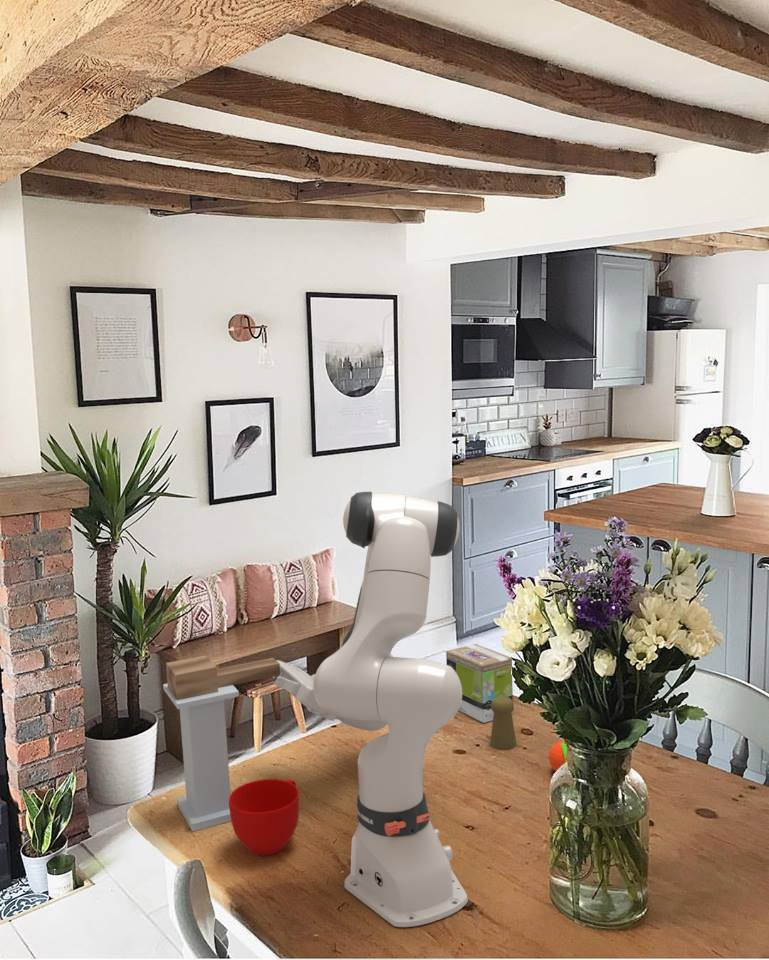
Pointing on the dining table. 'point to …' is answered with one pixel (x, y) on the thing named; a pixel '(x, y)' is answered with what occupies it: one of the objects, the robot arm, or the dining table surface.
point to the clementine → (558, 755)
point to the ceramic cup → (265, 814)
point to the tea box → (481, 678)
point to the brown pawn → (502, 724)
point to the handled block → (214, 675)
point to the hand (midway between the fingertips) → (267, 672)
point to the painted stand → (205, 757)
